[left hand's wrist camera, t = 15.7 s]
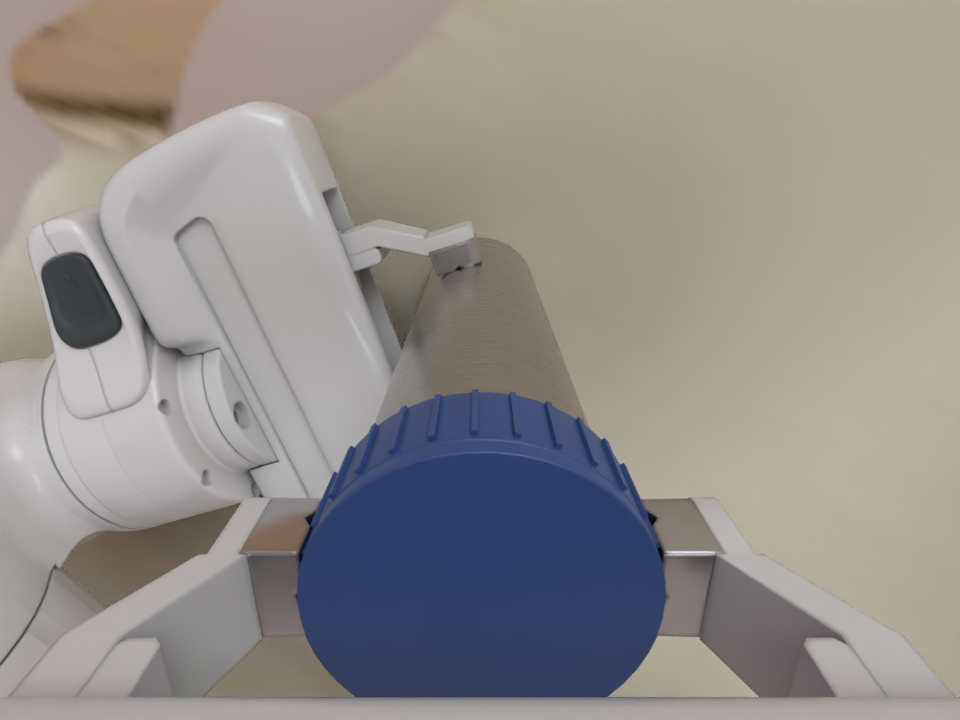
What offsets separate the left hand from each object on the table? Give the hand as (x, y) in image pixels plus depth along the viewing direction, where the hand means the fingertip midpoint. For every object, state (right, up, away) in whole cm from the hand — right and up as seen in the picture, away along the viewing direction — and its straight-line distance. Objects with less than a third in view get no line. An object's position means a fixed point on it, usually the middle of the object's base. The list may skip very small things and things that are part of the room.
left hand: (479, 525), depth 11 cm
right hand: (+1, +5, +12) cm, 13 cm away
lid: (0, -1, -2) cm, 2 cm away
